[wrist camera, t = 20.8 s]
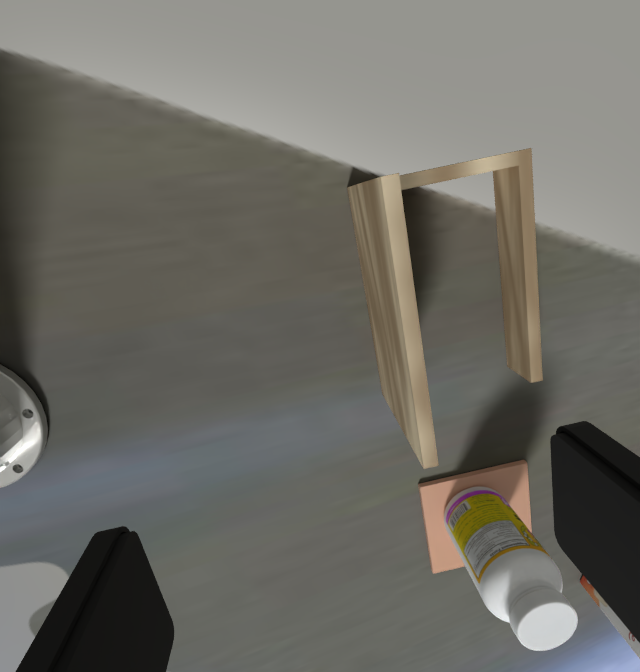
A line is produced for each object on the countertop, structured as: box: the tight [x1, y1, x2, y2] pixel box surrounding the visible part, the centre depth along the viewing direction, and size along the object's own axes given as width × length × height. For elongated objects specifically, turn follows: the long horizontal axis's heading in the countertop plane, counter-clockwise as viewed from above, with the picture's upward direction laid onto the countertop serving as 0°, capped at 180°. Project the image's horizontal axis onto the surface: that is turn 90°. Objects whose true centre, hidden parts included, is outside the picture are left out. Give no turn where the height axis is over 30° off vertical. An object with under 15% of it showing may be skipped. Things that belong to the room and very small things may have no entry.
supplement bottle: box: [444, 486, 578, 651], centre depth 38 cm, size 7×7×13 cm
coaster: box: [418, 460, 532, 574], centre depth 45 cm, size 11×11×1 cm
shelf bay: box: [347, 148, 543, 469], centre depth 32 cm, size 13×18×12 cm
